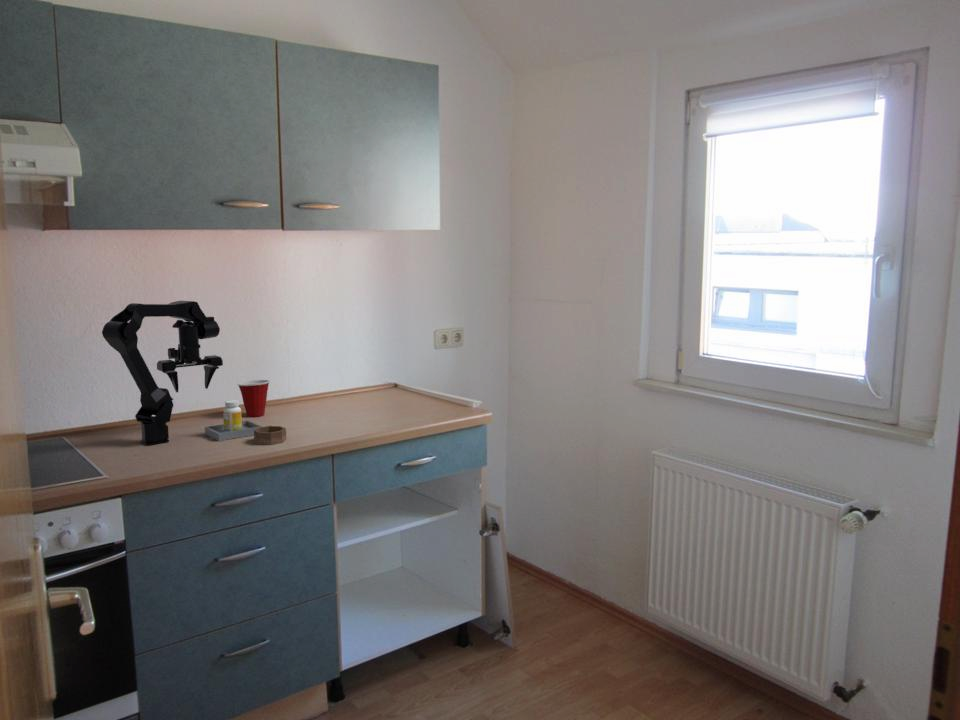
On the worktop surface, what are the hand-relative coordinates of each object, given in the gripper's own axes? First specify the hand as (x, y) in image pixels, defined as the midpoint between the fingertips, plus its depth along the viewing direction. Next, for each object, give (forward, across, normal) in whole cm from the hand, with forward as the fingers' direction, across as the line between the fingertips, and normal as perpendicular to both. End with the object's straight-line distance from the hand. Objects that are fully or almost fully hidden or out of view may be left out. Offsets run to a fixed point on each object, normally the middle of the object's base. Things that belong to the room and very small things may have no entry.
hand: (191, 390), depth 240 cm
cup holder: (+13, -13, +27) cm, 33 cm away
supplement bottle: (+12, -8, +12) cm, 19 cm away
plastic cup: (+13, -24, -8) cm, 28 cm away
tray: (+13, -8, +12) cm, 19 cm away
